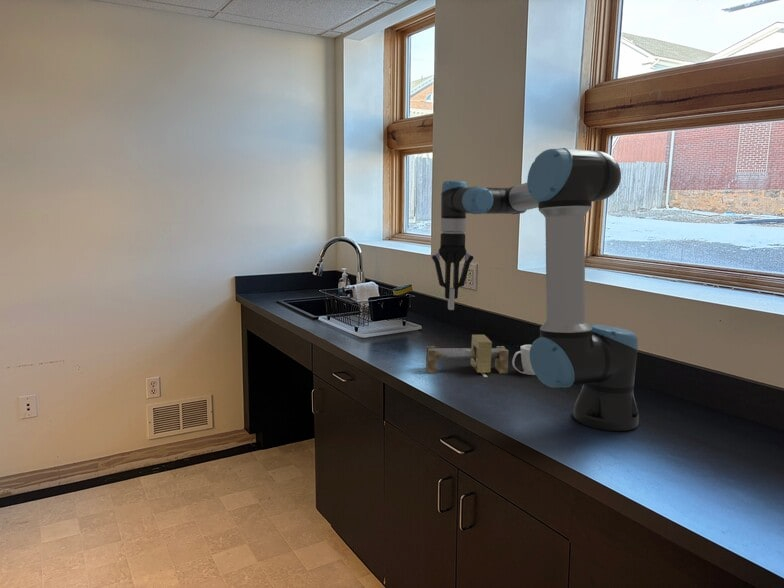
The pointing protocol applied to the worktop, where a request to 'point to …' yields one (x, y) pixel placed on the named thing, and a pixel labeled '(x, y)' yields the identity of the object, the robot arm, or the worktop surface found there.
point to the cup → (524, 360)
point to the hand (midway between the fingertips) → (450, 309)
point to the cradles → (500, 362)
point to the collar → (481, 353)
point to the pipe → (463, 352)
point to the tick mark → (484, 374)
